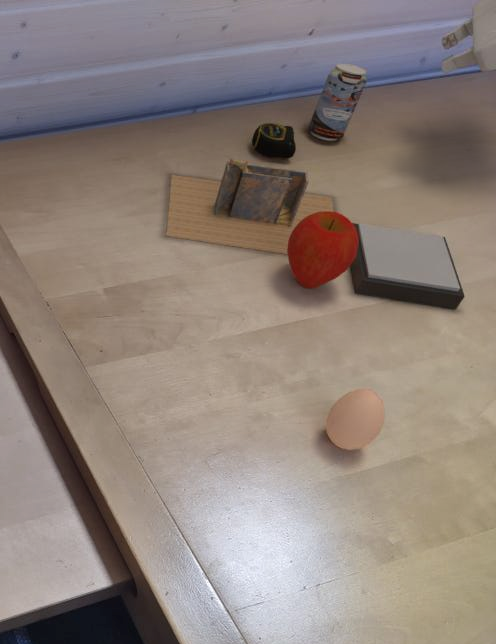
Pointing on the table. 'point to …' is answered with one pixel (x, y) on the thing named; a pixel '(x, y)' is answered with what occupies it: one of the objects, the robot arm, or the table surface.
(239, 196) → the architectural model on board
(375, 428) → the egg
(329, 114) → the beverage can
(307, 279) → the apple
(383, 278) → the scale
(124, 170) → the table surface
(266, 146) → the tape measure
